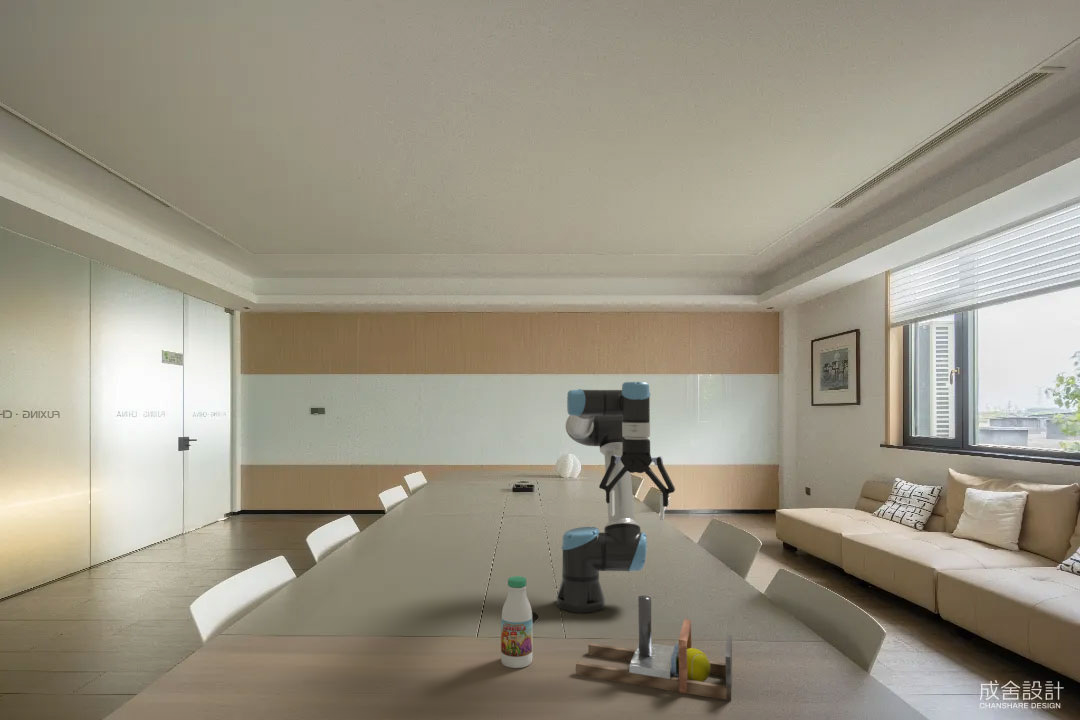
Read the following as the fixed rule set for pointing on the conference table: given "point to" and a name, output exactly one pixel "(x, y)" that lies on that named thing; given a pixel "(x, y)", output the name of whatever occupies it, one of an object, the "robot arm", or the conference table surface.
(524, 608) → the milk bottle
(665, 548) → the conference table surface
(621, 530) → the robot arm
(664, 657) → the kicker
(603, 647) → the lane
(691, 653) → the tennis ball
